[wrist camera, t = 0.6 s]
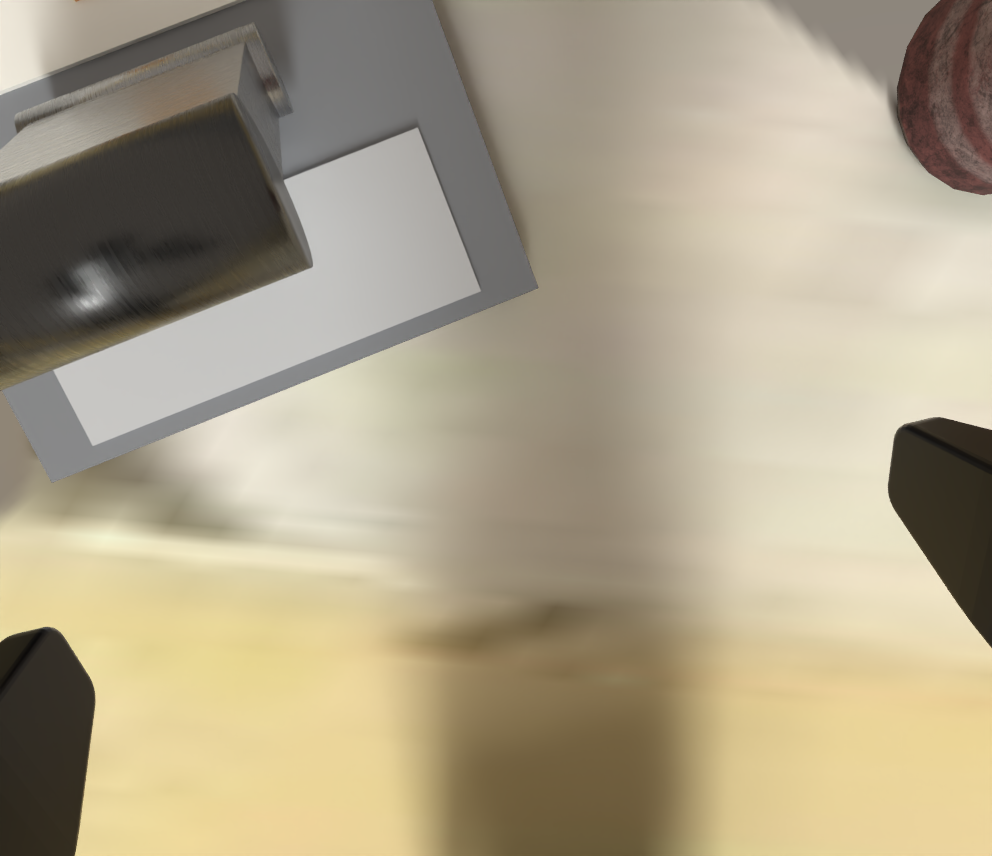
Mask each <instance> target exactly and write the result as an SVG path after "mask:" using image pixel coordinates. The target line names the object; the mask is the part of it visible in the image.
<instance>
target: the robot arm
mask: <svg viewBox="0 0 992 856" xmlns="http://www.w3.org/2000/svg"><path fill="white" fill-rule="evenodd" d="M888 493H889V498H890V501H891V504H892V506H893V508H894V510H895V511H896V513H897V514H898V516H899V517H900V519H901V520H902V522H903V523H904V525H905V526H906V528H907V529H908V531H909V532H910V534H911V535H912V537H913V538H914V540H915V541H916V543H917V544H918V546H919V547H920V549H921V550H922V551H923V553H924V554H925V556H926V557H927V559H928V560H929V562H930V563H931V565H932V566H933V568H934V569H935V571H936V572H937V574H938V575H939V577H940V578H941V580H942V581H943V583H944V584H945V586H946V587H947V589H948V590H949V592H950V593H951V595H952V596H953V598H954V599H955V600H956V602H957V603H958V605H959V606H960V608H961V609H962V610H963V612H964V613H965V614H966V616H967V617H968V619H969V620H970V621H971V623H972V624H973V625H974V626H975V628H976V629H977V630H978V631H979V633H980V634H981V635H982V637H983V638H984V639H985V640H986V642H987V643H988V644H989V645H990V646H991V648H992V430H989V429H985V428H981V427H977V426H973V425H969V424H965V423H961V422H957V421H954V420H950V419H946V418H941V417H933V418H928V419H924V420H920V421H916V422H912V423H907V424H904V425H903V426H901V427H900V428H899V429H898V430H897V432H896V434H895V437H894V442H893V450H892V458H891V466H890V473H889V481H888ZM94 711H95V691H94V687H93V684H92V681H91V679H90V677H89V675H88V674H87V672H86V671H85V669H84V668H83V666H82V664H81V663H80V661H79V660H78V658H77V656H76V655H75V653H74V652H73V650H72V649H71V647H70V645H69V644H68V642H67V641H66V639H65V638H64V636H63V635H62V634H61V632H59V631H58V630H57V629H55V628H51V627H43V628H39V629H35V630H30V631H26V632H22V633H18V634H14V635H11V636H9V637H7V638H5V639H4V640H3V641H2V642H0V856H75V852H76V846H77V840H78V834H79V827H80V820H81V812H82V805H83V797H84V789H85V781H86V773H87V765H88V758H89V750H90V742H91V734H92V726H93V718H94Z"/></svg>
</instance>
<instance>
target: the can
mask: <svg viewBox="0 0 992 856" xmlns="http://www.w3.org/2000/svg"><path fill="white" fill-rule="evenodd" d="M897 100H898V119H899V122H900V125H901V128H902V131H903V134H904V137H905V140H906V143H907V145H908V146H909V148H910V149H911V150H912V152H913V153H914V154H915V156H916V157H917V158H918V160H919V161H920V162H921V164H922V165H923V166H924V168H925V169H926V170H927V171H928V172H929V173H930V174H932V175H933V176H935V177H936V178H938V179H939V180H941V181H942V182H944V183H946V184H947V185H949V186H950V187H952V188H953V189H957V190H961V191H966V192H971V193H975V194H980V195H987V194H992V0H940V1H939V2H938V3H937V4H936V6H934V7H933V8H932V9H931V10H930V11H929V12H928V13H927V14H926V15H925V17H924V18H923V20H922V22H921V23H920V25H919V27H918V29H917V31H916V32H915V34H914V36H913V38H912V39H911V41H910V43H909V45H908V46H907V50H906V54H905V58H904V62H903V66H902V70H901V74H900V78H899V82H898V86H897Z"/></svg>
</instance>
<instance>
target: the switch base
mask: <svg viewBox="0 0 992 856" xmlns="http://www.w3.org/2000/svg"><path fill="white" fill-rule="evenodd" d="M252 22H255V24H256V25H257V27H258V29H259V31H260V33H261V35H262V37H263V39H264V41H265V43H266V45H267V47H268V50H269V52H270V54H271V56H272V58H273V61H274V63H275V65H276V67H277V70H278V72H279V74H280V77H281V79H282V81H283V84H284V86H285V89H286V91H287V94H288V96H289V99H290V102H291V104H292V107H293V111H294V112H293V113H291V114H288V115H286V116H283V117H281V118H279V128H280V142H281V156H282V170H283V181H284V183H285V185H286V188H287V190H288V192H289V194H290V197H291V199H292V201H293V204H294V206H295V209H296V211H297V214H298V216H299V219H300V221H301V224H302V227H303V229H304V232H305V235H306V238H307V241H308V244H309V247H310V251H311V255H312V259H313V267H312V268H310V269H307V270H305V271H302V272H300V273H297V274H295V275H292V276H290V277H287V278H285V279H282V280H279V281H277V282H274V283H272V284H269V285H267V286H264V287H262V288H259V289H257V290H254V291H252V292H249V293H247V294H244V295H242V296H239V297H237V298H234V299H231V300H229V301H226V302H224V303H221V304H219V305H216V306H214V307H211V308H209V309H206V310H204V311H201V312H199V313H196V314H194V315H191V316H189V317H186V318H183V319H181V320H178V321H176V322H173V323H171V324H168V325H166V326H163V327H161V328H158V329H156V330H153V331H151V332H148V333H146V334H143V335H141V336H138V337H135V338H133V339H130V340H128V341H125V342H123V343H120V344H118V345H115V346H113V347H110V348H108V349H105V350H103V351H100V352H98V353H95V354H93V355H90V356H87V357H85V358H82V359H80V360H77V361H75V362H72V363H70V364H67V365H65V366H62V367H60V368H57V369H55V370H52V371H50V372H47V373H45V374H42V375H39V376H37V377H34V378H32V379H29V380H27V381H24V382H22V383H19V384H17V385H14V386H12V387H9V388H7V389H4V390H2V392H3V393H4V395H5V397H6V399H7V401H8V403H9V405H10V406H11V408H12V410H13V412H14V414H15V416H16V417H17V419H18V421H19V423H20V425H21V427H22V429H23V430H24V432H25V434H26V436H27V438H28V440H29V441H30V443H31V445H32V447H33V449H34V451H35V453H36V454H37V456H38V458H39V460H40V462H41V464H42V465H43V467H44V469H45V471H46V473H47V475H48V477H49V478H50V480H51V482H55V481H57V480H60V479H62V478H65V477H67V476H70V475H72V474H75V473H77V472H80V471H82V470H85V469H87V468H90V467H92V466H95V465H97V464H100V463H102V462H105V461H107V460H110V459H112V458H115V457H117V456H120V455H122V454H125V453H127V452H130V451H132V450H135V449H137V448H140V447H142V446H145V445H147V444H150V443H152V442H155V441H157V440H160V439H162V438H165V437H167V436H170V435H172V434H175V433H177V432H180V431H182V430H185V429H187V428H190V427H192V426H195V425H197V424H200V423H202V422H205V421H207V420H210V419H212V418H215V417H217V416H220V415H222V414H225V413H227V412H230V411H232V410H235V409H237V408H240V407H242V406H245V405H247V404H250V403H252V402H255V401H257V400H260V399H262V398H265V397H267V396H270V395H272V394H275V393H277V392H280V391H282V390H285V389H287V388H290V387H292V386H295V385H297V384H300V383H302V382H305V381H307V380H310V379H312V378H315V377H317V376H320V375H322V374H325V373H327V372H330V371H332V370H335V369H337V368H340V367H342V366H345V365H347V364H350V363H352V362H355V361H357V360H360V359H362V358H365V357H367V356H370V355H372V354H375V353H377V352H380V351H382V350H385V349H387V348H390V347H392V346H395V345H397V344H400V343H402V342H405V341H407V340H410V339H412V338H415V337H417V336H420V335H422V334H425V333H427V332H430V331H432V330H435V329H437V328H440V327H442V326H445V325H447V324H450V323H452V322H455V321H457V320H460V319H462V318H465V317H467V316H470V315H472V314H475V313H477V312H480V311H482V310H485V309H487V308H490V307H492V306H495V305H497V304H500V303H502V302H505V301H507V300H510V299H512V298H515V297H517V296H520V295H522V294H525V293H527V292H530V291H532V290H535V289H537V288H538V285H537V283H536V280H535V277H534V275H533V272H532V269H531V266H530V264H529V261H528V258H527V256H526V253H525V250H524V248H523V245H522V242H521V239H520V237H519V234H518V231H517V229H516V226H515V223H514V220H513V218H512V215H511V212H510V210H509V207H508V204H507V202H506V199H505V196H504V193H503V191H502V188H501V185H500V183H499V180H498V177H497V175H496V172H495V169H494V166H493V164H492V161H491V158H490V156H489V153H488V150H487V147H486V145H485V142H484V139H483V137H482V134H481V131H480V129H479V126H478V123H477V120H476V118H475V115H474V112H473V110H472V107H471V104H470V101H469V99H468V96H467V93H466V91H465V88H464V85H463V83H462V80H461V77H460V74H459V72H458V69H457V66H456V64H455V61H454V58H453V55H452V53H451V50H450V47H449V45H448V42H447V39H446V37H445V34H444V31H443V28H442V26H441V23H440V20H439V18H438V15H437V12H436V9H435V7H434V4H433V1H432V0H0V150H1V149H2V148H3V147H4V146H5V145H6V144H7V143H8V142H9V141H10V140H11V139H13V138H14V137H15V136H16V135H17V132H16V128H15V121H14V120H15V115H16V114H17V113H19V112H21V111H24V110H26V109H29V108H32V107H34V106H37V105H39V104H42V103H45V102H47V101H50V100H52V99H55V98H58V97H60V96H63V95H65V94H68V93H71V92H73V91H76V90H78V89H81V88H84V87H86V86H89V85H91V84H94V83H96V82H99V81H102V80H104V79H107V78H109V77H112V76H115V75H117V74H120V73H122V72H125V71H128V70H130V69H133V68H135V67H138V66H141V65H143V64H146V63H148V62H151V61H154V60H156V59H159V58H161V57H164V56H166V55H169V54H172V53H174V52H177V51H179V50H182V49H185V48H187V47H190V46H192V45H195V44H198V43H200V42H203V41H205V40H208V39H211V38H213V37H216V36H218V35H221V34H224V33H226V32H229V31H231V30H234V29H236V28H239V27H242V26H244V25H247V24H249V23H252Z"/></svg>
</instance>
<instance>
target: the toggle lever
mask: <svg viewBox="0 0 992 856" xmlns="http://www.w3.org/2000/svg"><path fill="white" fill-rule="evenodd" d="M293 112H294V111H293V107H292V104H291V102H290V99H289V96H288V94H287V91H286V89H285V86H284V84H283V81H282V79H281V77H280V74H279V72H278V70H277V67H276V65H275V63H274V61H273V58H272V56H271V54H270V52H269V50H268V47H267V45H266V43H265V41H264V39H263V37H262V35H261V33H260V31H259V29H258V27H257V25H256V24H255V22H252V23H249V24H247V25H244V26H242V27H239V28H236V29H234V30H231V31H229V32H226V33H224V34H221V35H218V36H216V37H213V38H211V39H208V40H205V41H203V42H200V43H198V44H195V45H192V46H190V47H187V48H185V49H182V50H179V51H177V52H174V53H172V54H169V55H166V56H164V57H161V58H159V59H156V60H154V61H151V62H148V63H146V64H143V65H141V66H138V67H135V68H133V69H130V70H128V71H125V72H122V73H120V74H117V75H115V76H112V77H109V78H107V79H104V80H102V81H99V82H96V83H94V84H91V85H89V86H86V87H84V88H81V89H78V90H76V91H73V92H71V93H68V94H65V95H63V96H60V97H58V98H55V99H52V100H50V101H47V102H45V103H42V104H39V105H37V106H34V107H32V108H29V109H26V110H24V111H21V112H19V113H17V114H16V115H15V120H14V121H15V128H16V132H17V135H16V136H15V137H14V138H13V139H11V140H10V141H9V142H8V143H7V144H6V145H5V146H4V147H3V148H2V149H1V150H0V391H2V390H4V389H7V388H9V387H12V386H14V385H17V384H19V383H22V382H24V381H27V380H29V379H32V378H34V377H37V376H39V375H42V374H45V373H47V372H50V371H52V370H55V369H57V368H60V367H62V366H65V365H67V364H70V363H72V362H75V361H77V360H80V359H82V358H85V357H87V356H90V355H93V354H95V353H98V352H100V351H103V350H105V349H108V348H110V347H113V346H115V345H118V344H120V343H123V342H125V341H128V340H130V339H133V338H135V337H138V336H141V335H143V334H146V333H148V332H151V331H153V330H156V329H158V328H161V327H163V326H166V325H168V324H171V323H173V322H176V321H178V320H181V319H183V318H186V317H189V316H191V315H194V314H196V313H199V312H201V311H204V310H206V309H209V308H211V307H214V306H216V305H219V304H221V303H224V302H226V301H229V300H231V299H234V298H237V297H239V296H242V295H244V294H247V293H249V292H252V291H254V290H257V289H259V288H262V287H264V286H267V285H269V284H272V283H274V282H277V281H279V280H282V279H285V278H287V277H290V276H292V275H295V274H297V273H300V272H302V271H305V270H307V269H310V268H312V267H313V259H312V255H311V251H310V247H309V244H308V241H307V238H306V235H305V232H304V229H303V227H302V224H301V221H300V219H299V216H298V214H297V211H296V209H295V206H294V204H293V201H292V199H291V197H290V194H289V192H288V190H287V188H286V185H285V183H284V181H283V170H282V156H281V142H280V128H279V118H281V117H283V116H286V115H288V114H291V113H293Z"/></svg>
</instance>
